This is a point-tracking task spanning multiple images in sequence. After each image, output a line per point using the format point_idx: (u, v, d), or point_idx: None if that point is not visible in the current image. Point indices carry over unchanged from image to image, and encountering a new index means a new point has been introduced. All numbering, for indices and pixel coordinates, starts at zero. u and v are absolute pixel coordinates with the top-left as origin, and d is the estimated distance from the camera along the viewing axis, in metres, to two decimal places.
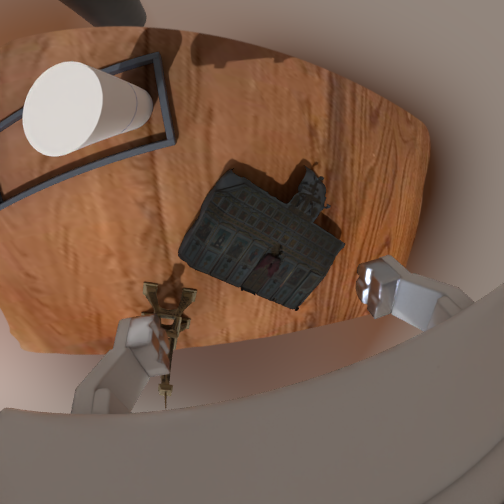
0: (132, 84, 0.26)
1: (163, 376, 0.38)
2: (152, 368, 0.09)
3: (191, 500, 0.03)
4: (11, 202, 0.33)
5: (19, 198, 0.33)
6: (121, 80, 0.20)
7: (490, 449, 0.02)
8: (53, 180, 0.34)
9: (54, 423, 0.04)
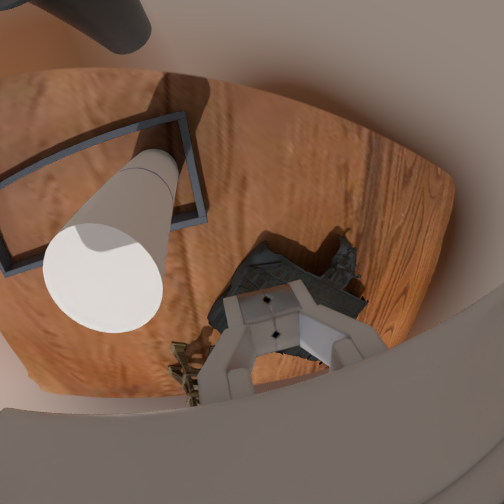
0: (161, 167, 0.25)
1: None
2: (263, 346, 0.09)
3: (190, 499, 0.03)
4: (23, 270, 0.32)
5: (32, 267, 0.33)
6: (155, 186, 0.20)
7: (490, 449, 0.02)
8: None
9: (54, 423, 0.04)
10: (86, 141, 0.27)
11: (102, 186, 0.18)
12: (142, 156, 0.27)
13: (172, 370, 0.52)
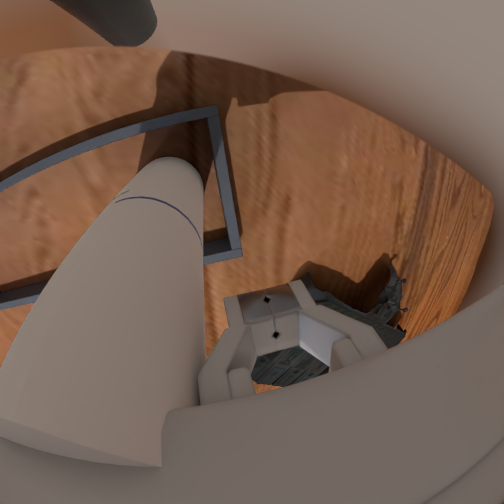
0: (182, 192, 0.17)
1: None
2: (263, 346, 0.09)
3: (191, 500, 0.03)
4: (8, 306, 0.24)
5: (18, 303, 0.25)
6: (177, 240, 0.12)
7: (490, 449, 0.02)
8: None
9: None
10: (77, 145, 0.19)
11: (81, 240, 0.10)
12: (153, 170, 0.19)
13: None
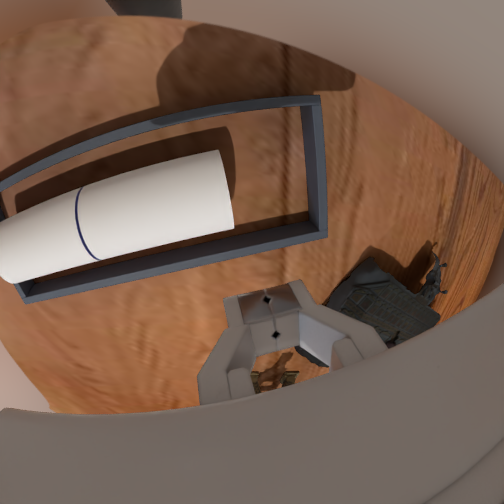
0: (108, 200, 0.19)
1: None
2: (263, 346, 0.09)
3: (191, 500, 0.03)
4: (54, 295, 0.25)
5: (68, 292, 0.26)
6: (48, 224, 0.18)
7: (490, 449, 0.02)
8: (132, 276, 0.26)
9: (54, 423, 0.04)
10: (176, 114, 0.20)
11: None
12: (146, 168, 0.21)
13: None
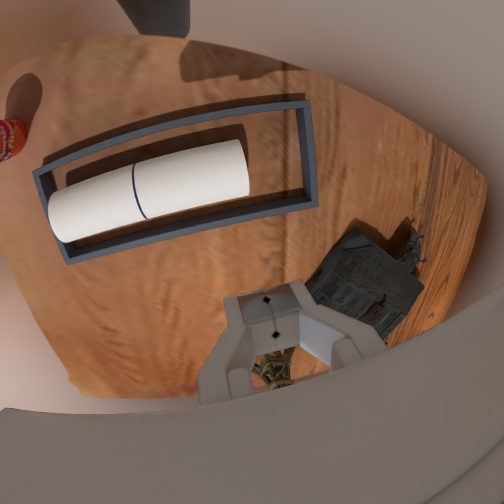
0: (159, 171, 0.28)
1: None
2: (263, 346, 0.09)
3: (191, 500, 0.03)
4: (96, 255, 0.34)
5: (110, 251, 0.34)
6: (108, 189, 0.27)
7: (490, 449, 0.02)
8: (167, 235, 0.35)
9: (54, 424, 0.04)
10: (208, 113, 0.29)
11: None
12: (186, 150, 0.30)
13: None
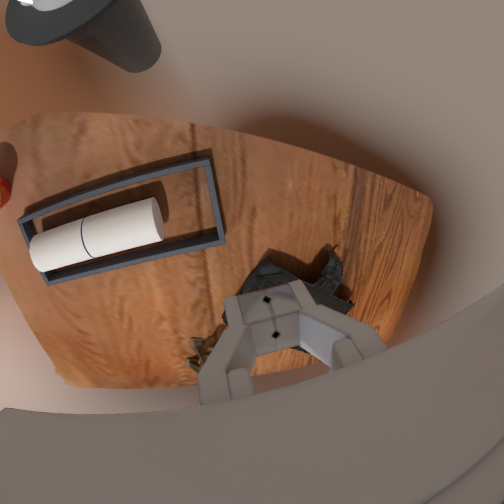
0: (97, 227, 0.37)
1: None
2: (263, 346, 0.09)
3: (190, 499, 0.03)
4: (67, 279, 0.44)
5: (76, 277, 0.44)
6: (66, 239, 0.37)
7: (490, 449, 0.02)
8: (112, 267, 0.45)
9: (54, 423, 0.04)
10: (129, 179, 0.38)
11: (68, 223, 0.39)
12: (116, 209, 0.39)
13: (190, 362, 0.63)
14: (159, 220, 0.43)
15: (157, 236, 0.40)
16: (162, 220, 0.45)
